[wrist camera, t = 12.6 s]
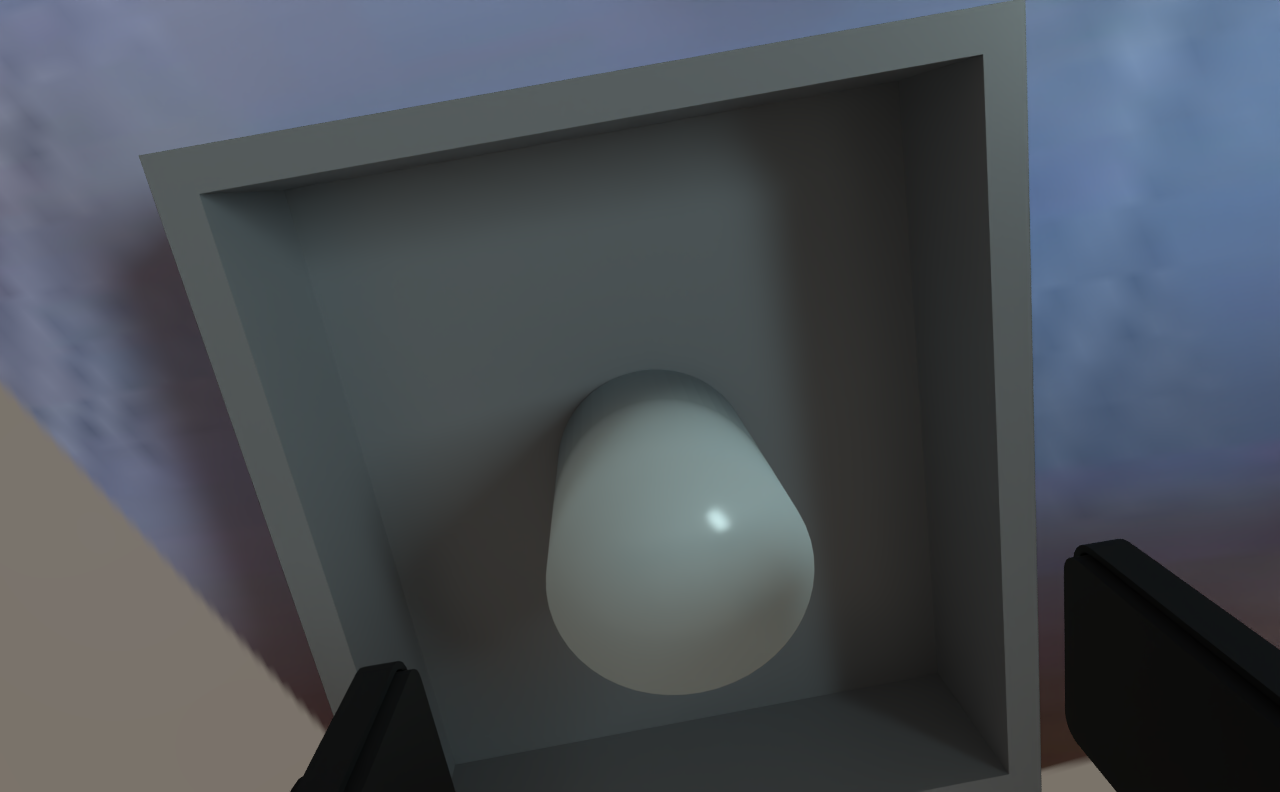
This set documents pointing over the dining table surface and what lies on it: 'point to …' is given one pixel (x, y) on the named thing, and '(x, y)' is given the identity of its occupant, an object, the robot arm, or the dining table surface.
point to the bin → (659, 340)
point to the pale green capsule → (671, 539)
